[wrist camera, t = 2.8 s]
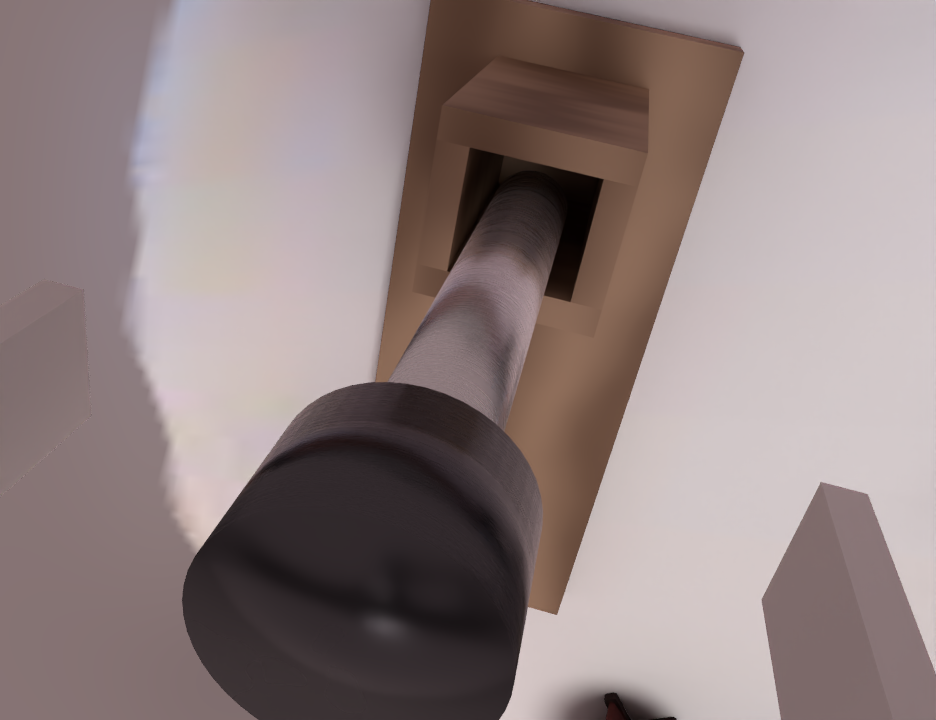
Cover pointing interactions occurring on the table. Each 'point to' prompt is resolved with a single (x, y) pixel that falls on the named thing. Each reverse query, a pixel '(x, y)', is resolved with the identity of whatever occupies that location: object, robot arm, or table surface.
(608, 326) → the stand
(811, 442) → the table surface
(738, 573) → the table surface
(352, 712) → the plunger
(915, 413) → the table surface
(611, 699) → the mate gourd
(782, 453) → the table surface
